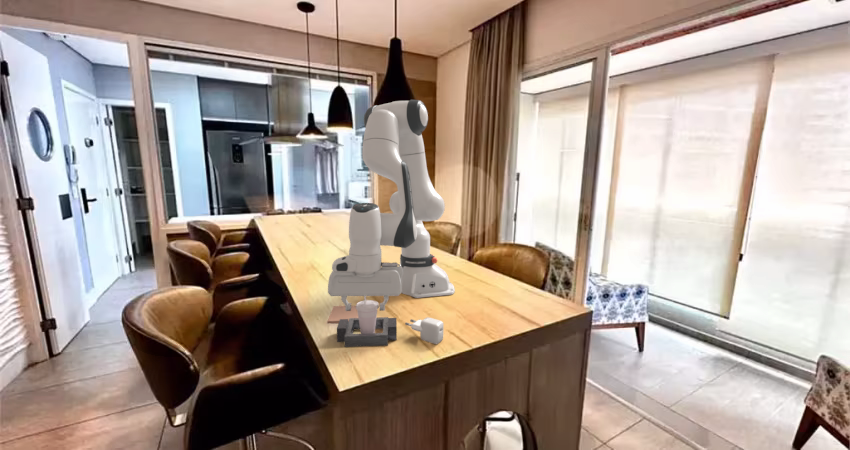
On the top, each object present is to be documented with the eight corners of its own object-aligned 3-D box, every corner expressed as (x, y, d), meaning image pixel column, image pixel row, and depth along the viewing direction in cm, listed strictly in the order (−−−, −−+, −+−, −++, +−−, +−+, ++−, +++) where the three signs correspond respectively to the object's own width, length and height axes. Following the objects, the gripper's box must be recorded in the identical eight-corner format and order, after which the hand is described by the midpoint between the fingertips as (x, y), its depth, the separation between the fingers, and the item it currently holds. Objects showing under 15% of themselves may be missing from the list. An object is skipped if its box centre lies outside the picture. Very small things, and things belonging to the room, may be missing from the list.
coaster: (369, 307, 123) (369, 305, 123) (366, 322, 112) (366, 320, 111) (333, 308, 122) (333, 306, 122) (327, 323, 111) (327, 321, 110)
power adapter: (403, 335, 103) (403, 316, 102) (412, 329, 107) (412, 311, 106) (436, 346, 97) (436, 326, 96) (445, 339, 101) (445, 320, 100)
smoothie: (357, 331, 106) (356, 285, 103) (379, 330, 106) (379, 285, 104) (355, 341, 99) (354, 293, 97) (378, 341, 100) (378, 293, 98)
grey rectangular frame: (396, 326, 109) (396, 313, 109) (396, 345, 98) (396, 331, 97) (341, 327, 108) (341, 315, 107) (335, 347, 96) (335, 333, 96)
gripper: (402, 259, 103) (402, 305, 105) (330, 259, 101) (331, 306, 104) (403, 265, 97) (402, 314, 99) (326, 265, 95) (327, 314, 97)
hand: (365, 310), depth 101 cm, fingers open, 8 cm apart
